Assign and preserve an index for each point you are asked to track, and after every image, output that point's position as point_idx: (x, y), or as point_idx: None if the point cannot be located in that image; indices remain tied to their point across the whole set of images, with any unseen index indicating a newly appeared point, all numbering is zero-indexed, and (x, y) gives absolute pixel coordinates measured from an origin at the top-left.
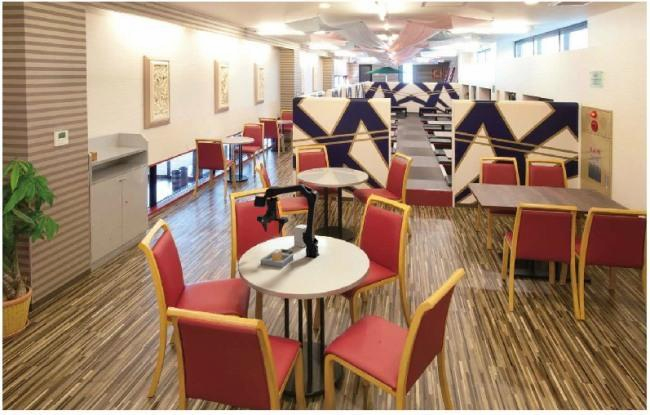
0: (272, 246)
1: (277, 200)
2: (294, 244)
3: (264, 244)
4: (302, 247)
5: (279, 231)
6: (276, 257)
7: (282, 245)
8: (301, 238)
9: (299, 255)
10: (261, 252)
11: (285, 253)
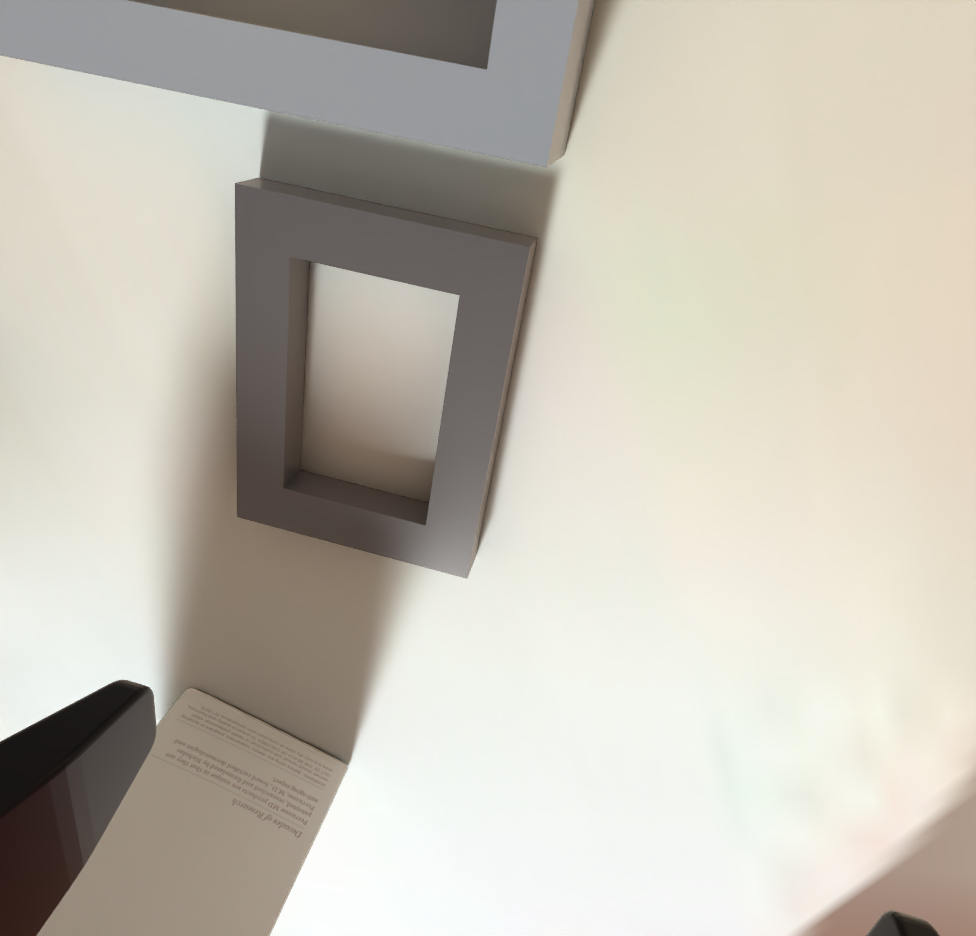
0: (703, 748)
1: None
2: (334, 777)
3: (880, 837)
4: (195, 690)
5: (8, 762)
6: None
7: (536, 780)
8: (114, 826)
9: (60, 339)
10: (894, 434)
11: (281, 318)
